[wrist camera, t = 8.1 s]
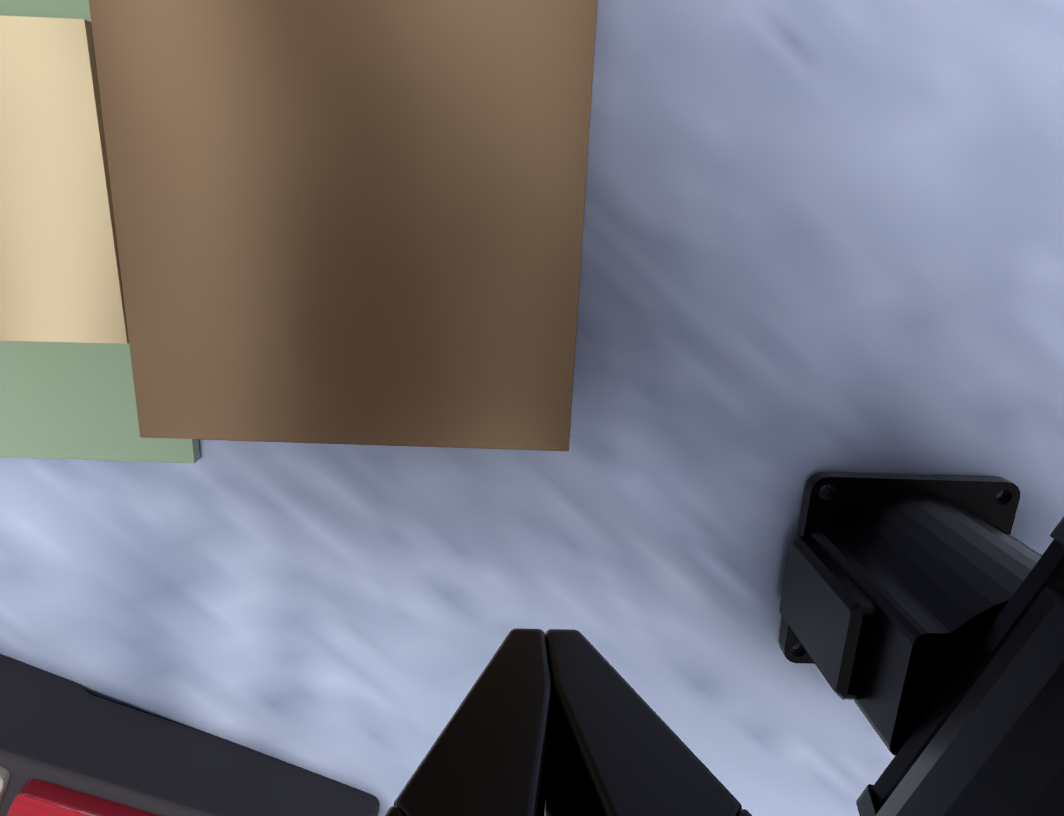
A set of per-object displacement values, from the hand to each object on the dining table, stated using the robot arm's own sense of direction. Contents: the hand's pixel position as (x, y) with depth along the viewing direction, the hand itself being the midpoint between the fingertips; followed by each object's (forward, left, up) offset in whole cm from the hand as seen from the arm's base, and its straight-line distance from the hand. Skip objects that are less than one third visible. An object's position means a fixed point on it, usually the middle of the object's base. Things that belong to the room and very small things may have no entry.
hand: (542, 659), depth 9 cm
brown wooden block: (+4, -6, -12) cm, 14 cm away
